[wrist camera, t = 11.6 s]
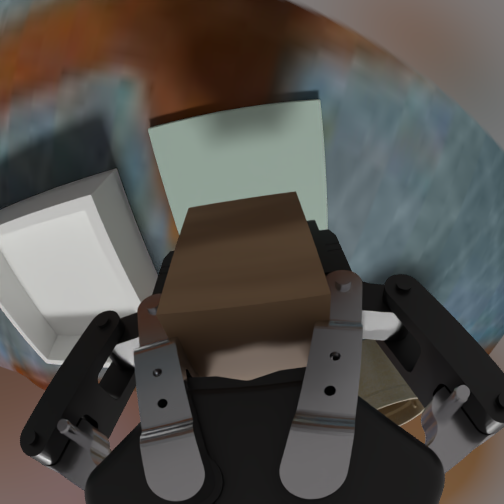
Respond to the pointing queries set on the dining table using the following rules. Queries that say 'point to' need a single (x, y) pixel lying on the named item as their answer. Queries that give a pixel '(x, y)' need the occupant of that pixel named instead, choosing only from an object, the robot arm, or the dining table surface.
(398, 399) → the flower pot
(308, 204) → the sage mat
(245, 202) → the walnut block
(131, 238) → the white bin
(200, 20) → the dining table surface
